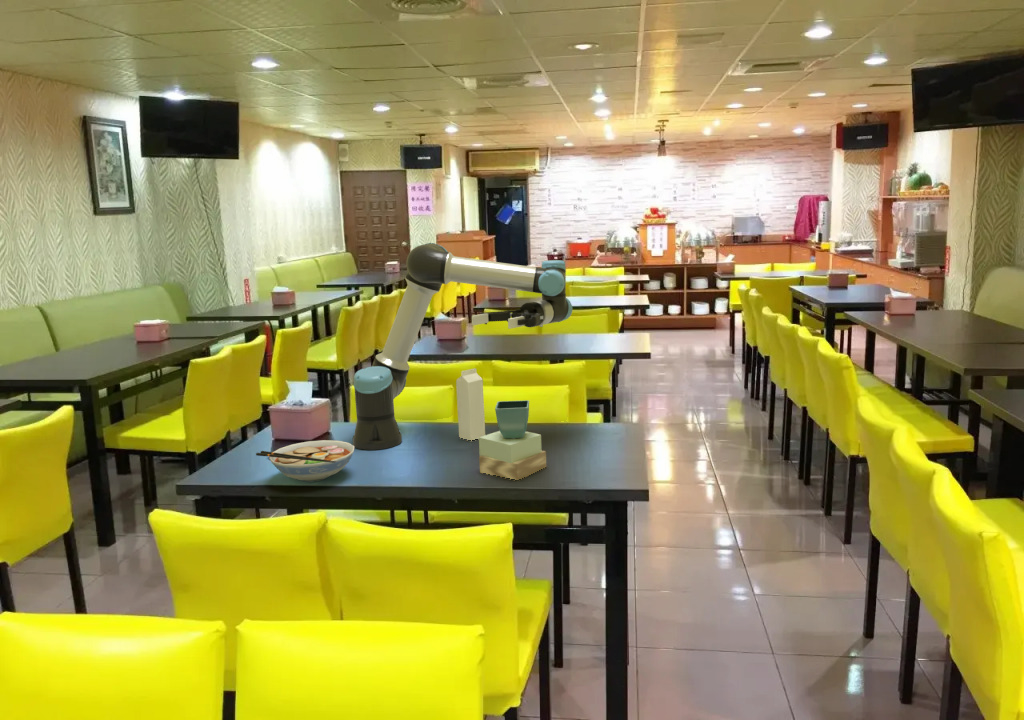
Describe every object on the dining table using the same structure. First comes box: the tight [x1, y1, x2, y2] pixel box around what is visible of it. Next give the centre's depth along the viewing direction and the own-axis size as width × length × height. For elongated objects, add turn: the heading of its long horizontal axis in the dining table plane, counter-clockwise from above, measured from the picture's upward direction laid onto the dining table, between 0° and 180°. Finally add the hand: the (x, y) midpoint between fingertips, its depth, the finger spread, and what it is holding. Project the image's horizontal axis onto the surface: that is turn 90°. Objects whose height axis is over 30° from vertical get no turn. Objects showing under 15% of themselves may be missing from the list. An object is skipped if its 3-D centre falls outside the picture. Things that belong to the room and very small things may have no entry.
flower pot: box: [494, 399, 530, 439], centre depth 210 cm, size 9×9×9 cm
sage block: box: [478, 430, 543, 463], centre depth 212 cm, size 12×12×5 cm
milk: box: [455, 368, 486, 442], centre depth 244 cm, size 6×6×22 cm
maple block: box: [478, 450, 547, 481], centre depth 213 cm, size 13×13×5 cm
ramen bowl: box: [255, 439, 355, 483], centre depth 213 cm, size 25×23×8 cm
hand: (490, 322), depth 221 cm, fingers open, 13 cm apart
